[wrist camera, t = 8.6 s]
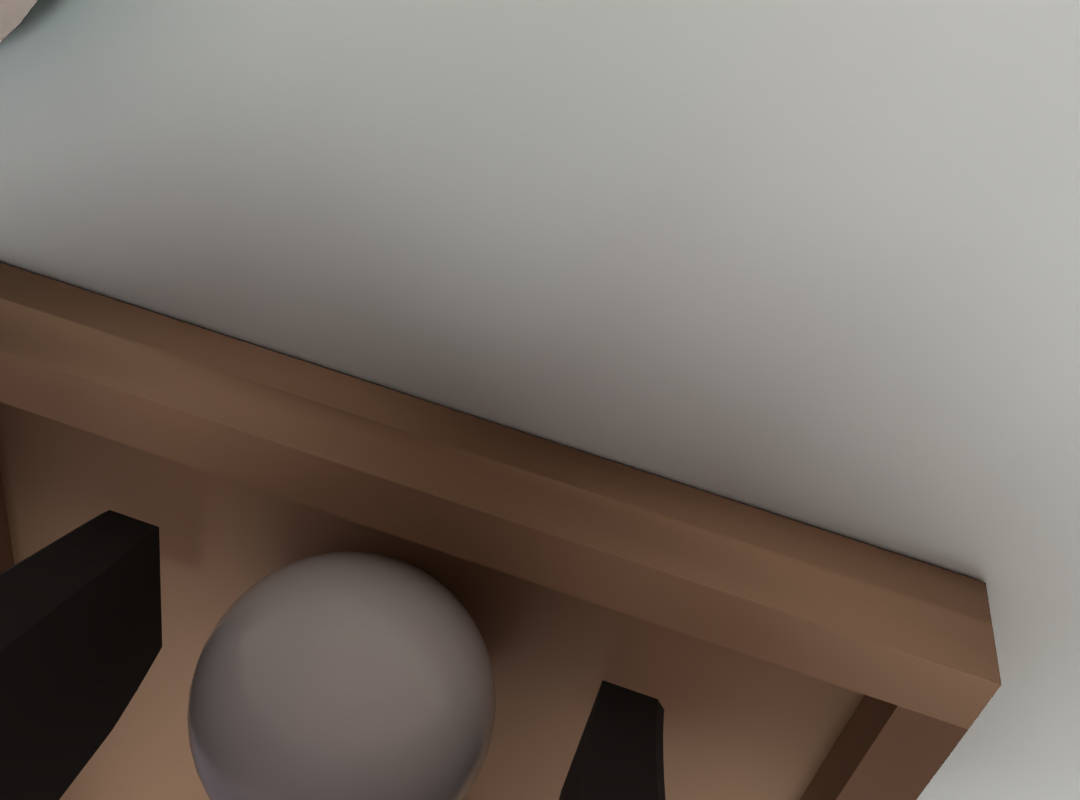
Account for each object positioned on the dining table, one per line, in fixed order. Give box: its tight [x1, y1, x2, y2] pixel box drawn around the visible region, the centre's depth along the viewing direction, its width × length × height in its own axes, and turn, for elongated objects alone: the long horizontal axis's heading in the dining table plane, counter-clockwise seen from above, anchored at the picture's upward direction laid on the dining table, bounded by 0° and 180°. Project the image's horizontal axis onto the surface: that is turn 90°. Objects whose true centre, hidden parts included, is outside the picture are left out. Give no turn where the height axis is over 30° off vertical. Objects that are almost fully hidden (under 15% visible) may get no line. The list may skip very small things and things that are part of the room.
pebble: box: [187, 551, 496, 800], centre depth 11 cm, size 3×3×3 cm
